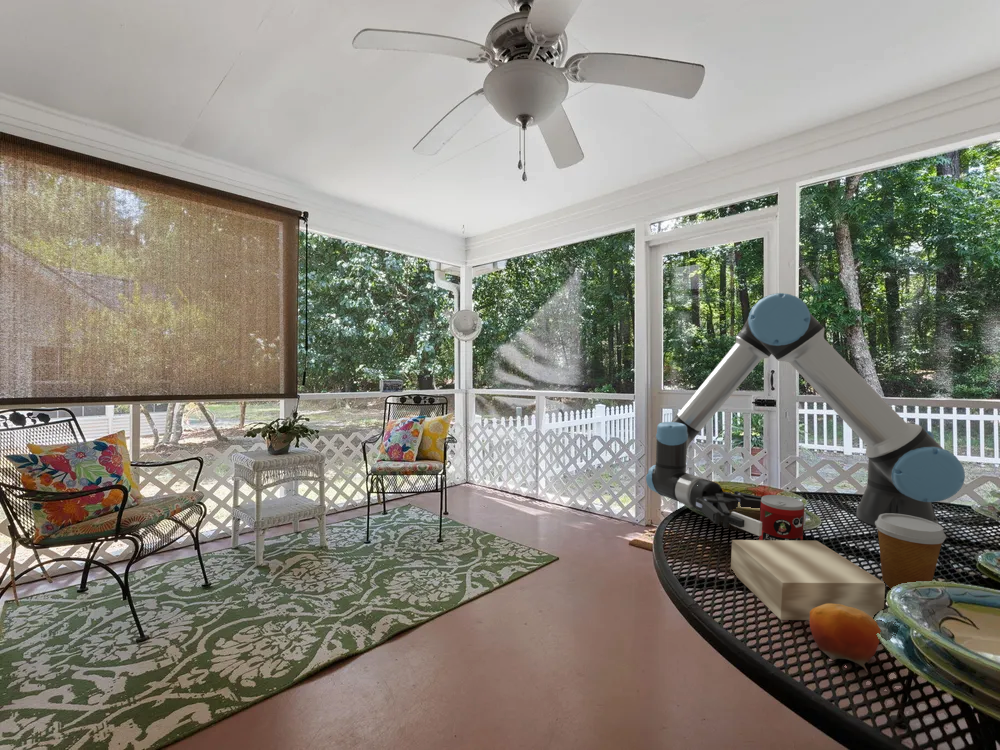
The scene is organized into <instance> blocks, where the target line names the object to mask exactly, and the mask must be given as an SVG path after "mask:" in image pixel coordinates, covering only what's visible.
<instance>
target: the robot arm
mask: <svg viewBox="0 0 1000 750" xmlns="http://www.w3.org/2000/svg"><path fill="white" fill-rule="evenodd" d="M825 330H826V329H825V327H824V326H823V325H822V324H821V323H820V322H819V321H818V320H817V319H816V318H815V317H814V316H813V315H812V313H811V312H810V309H809V307H808V305H807V304H806V303H805V302H804V301H803V300H802V299H800V297H798V296H795V295H792V294H791V293H790V294H789V293H781V292H776V293H772V294H769V295H766V296H764V297H762V298H761V299H759V300H758V301H757V302H756V303H754V305H753V306H752V307H751V309H750V311H749V313H748V317H747V319H746V321H745V323H744V325H743V327H742V328H741V330H740V331H739V332H738V333H737V334H736V335H735V343H734V344H733V345H732V346H731V348H730V349H729V351H728V352H727V353H726V354H725V355H724V357H723V358H722V359H721V360H720V361H719V363H718V364H717V365H716V366H715V368H714V369H713V370H712V371H711V372H710V373H709V375H708V376H707V377H706V379H704V381H703V383H701V385H700V386H699V387H698V389H696V391H695V392H694V393H693V395H691V397H690V398H689V399H688V401H687V402H686V403H685V404H684V405H683V406H682V408H681V409H680V411H678V413H677V414H676V415H675V416H674V418H672V420H671V421H664V422H660V423H658V424H657V425H656V426H657V427H656V434H655V438H656V443H655V444H656V445H655V448H656V452H655V453H656V456H655V464H654V465H652V466H650V467H649V468H648V472H647V474H646V476H645V480H646V485H647V487H648V488H649V489H650V490H651V491H652V492H655V493H657V494H658V495H660V496H662V497H665V498H668V499H671V500H674V501H676V502H679V503H681V504H683V505H686V506H687V507H688V508H694V509H695V510H696V511H700V512H701V513H703V514H704V515H705V516H706V517H707V518H708V519H709V520H710V521H711V522H712V523H713V524H715V525H721V523H722V526H723V528H730V526H733V527H735V528H738V529H740V530H743V531H746V532H747V533H750V534H752V535H755V536H757V537H759V536H762V522H760V520H759V519H758V520H757V519H755V518H752V517H750V516H747V515H744V514H742V513H738V512H736V511H734V510H733V509H736V507H740V506H741V507H751V508H761V498H762V497H763V496H761V495H760V496H759V495H755V494H751V493H750V494H749V493H745V492H740V491H737V490H736V491H734V493H732V492H728V491H724V490H723V488H722V486H721V485H720V484H719V483H718V482H715V481H712V480H709V479H706V478H703V477H700V476H698V475H693V474H692V473H691V474H690V473H687V472H686V471H687V455H688V454H687V453H688V448H689V445H690V444H691V443H692V442H693V440H694V439H695V438H696V437H697V436H698V435H699V433H700V432H701V431H702V429H703V428H704V427H705V426H706V425H707V424H708V423H709V421H710V420H711V419H712V418H713V416H714V415H716V413H717V412H718V411H719V410H720V409H721V407H722V406H723V405H724V404H725V403H726V402H727V401H728V400H729V398H730V397H731V396H732V394H733V393H735V391H736V390H737V389H738V388H739V386H740V385H741V384H742V383H744V381H745V379H746V378H747V377H748V376H749V375H750V374H751V372H752V371H753V370H754V369H755V367H757V366H758V364H759V363H760V362H761V361H762V360H764V359H769V358H770V357H771V355H772V356H773V357H774V358H775V360H777V361H779V362H786V363H789V364H790V365H791V366H792V367H793V368H794V369H795V370H796V371H797V372H798V373H799V374H800V376H802V377H803V379H804V380H805V381H806V382H807V383H808V384H809V385H810V386H811V387H812V389H813V390H814V391H816V392H817V394H818V395H819V396H820V397H821V399H823V400H824V401H825V402H826V403H827V404H828V406H829V407H830V408H831V409H832V410H833V411H834V412H835V413H836V414H837V415H838V417H840V418H841V419H842V421H843V422H845V423H846V425H847V426H848V427H849V428H850V429H851V430H852V431H853V432H854V434H855V435H857V437H859V438H860V440H862V442H863V443H864V444H865V445H866V449H865V456H866V457H867V458H868V465H867V466H868V467H867V469H868V470H867V483H866V487H865V488H866V489H865V491H864V492H863V495H862V497H861V499H860V501H859V503H858V505H857V507H856V518H857V519H859V520H860V521H861V522H864V523H865V524H868V525H870V526H874V527H876V525H875V521H876V520H877V519H878V517H879V515H880V514H885V513H894V514H904V515H910V516H915V517H919V518H923V519H926V520H929V521H932V522H935V523H937V524H939V520H938V518H937V516H936V513H935V509H934V505H933V503H937V502H942V501H945V500H948V499H950V498H952V497H954V495H956V494H957V493H958V492H959V491H960V490H961V489H962V487H963V485H964V482H965V479H966V474H965V468H964V466H963V463H961V461H960V460H959V459H958V458H957V456H956V455H955V454H953V453H952V452H950V451H949V450H947V449H944V448H943V447H942V446H941V445H940V444H939V443H938V442H937V441H936V440H935V437H934V436H935V435H934V433H933V432H932V431H929V430H925V429H924V428H923V427H922V426H921V425H920V424H917V423H916V424H915V423H911V422H906V421H905V419H903V418H902V417H901V416H900V415H899V414H898V413H897V412H896V410H895V409H893V408H892V407H891V406H890V405H889V403H887V401H885V400H884V399H883V398H882V396H881V395H880V394H879V393H878V392H877V391H876V390H875V389H874V388H873V387H872V386H871V385H870V384H869V383H868V382H867V381H866V379H864V378H863V377H862V376H861V375H860V374H859V373H858V372H857V371H856V370H855V369H854V368H853V366H851V365H850V364H849V363H848V362H847V361H846V359H845V358H844V357H843V356H842V355H841V354H840V353H839V352H838V351H837V350H836V349H835V348H834V347H833V346H832V345H831V344H830V343H829V342H828V341H827V340H826V339H825V336H824V335H825ZM697 485H698V486H697ZM738 502H740V504H738ZM730 511H731V512H730ZM806 519H807V512H806V511H804V524H803V526H806V523H807V522H806V521H807V520H806Z"/></svg>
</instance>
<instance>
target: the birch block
mask: <svg viewBox="0 0 1000 750" xmlns="http://www.w3.org/2000/svg"><path fill="white" fill-rule="evenodd" d="M730 552H731V553H730V555H731V556H730V557H731V558H730V570H731V569H732V570H733V571H734V573H735V575H736V576H737V579H738V580H739V581H740V582H741V583H742V584H743V585H745V587H747V588H748V590H750V592H752V594H753V595H754V596H755V597H756V598H757V599H759V600H760V601H761V602H762V603H763V605H765V606H766V607H767V608H768V609H769V610H770V611H771V612H772V613H773V614H774V615H775V616H776V617H777V618H778V619H779V620H780V621H789V620H790V621H810V611H811V610H812V609H813V608H815V607H818V606H820V605H823V604H828V603H829V604H830V603H832V604H841V605H844V606H847V607H853V608H856V609H858V610H861V611H864V612H865V613H866V614H868V615H869V616H871V617H872V618H873V617H874V615H875V614H876V613H877V612H878V611H880V610H882V609H884V610H885V608H884V607H885V595H886V586H885V583H884V582H883V581H882V580H881V579H880V578H878V577H876V576H874V575H873V574H871V573H869V572H868V571H867V570H865V569H863V568H861V566H859V565H857V564H855V563H854V562H852V561H850V560H849V559H847V558H846V557H844V556H842V555H841V554H839V553H837V552H836V551H834V550H833V549H831V548H829V547H828V546H826V545H825V544H823V543H821V542H820V541H818V540H759V539H756V540H755V539H731V551H730ZM735 575H734V576H735ZM736 576H735V577H736Z"/></svg>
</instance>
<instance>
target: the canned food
mask: <svg viewBox="0 0 1000 750" xmlns="http://www.w3.org/2000/svg"><path fill="white" fill-rule="evenodd" d="M761 497H762V498H761V508H760V511H759V513H760V514H759V521H760V522H762V536H758V540H803V539H804V537H803V536H804V525H803V524H804V512H805V503H804V502H803V501H801V500H799V499H797V498H794V497H791V496H787V495H781V494H766V495H762V496H761Z"/></svg>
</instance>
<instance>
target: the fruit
mask: <svg viewBox="0 0 1000 750" xmlns="http://www.w3.org/2000/svg"><path fill="white" fill-rule="evenodd" d="M809 628H810V632H811V635H812V637H813V640H814V642H815V644H816V646H817V647H818V650H820V651H821V652H822V653H824V654H825V655H827V657H828V658H830V660H831V662H834V661H836V660H839V659H840V660H848V661H851V662H853V663H854V664H857V665H859V666H861V667H862V668H863V669H864V670H865V672H866V673H867V674H868V669H867V667H866V665H865V664H867V663H868V662H870V660H871V658H873V657H874V656H875V655H876V653H877V650H878V647H879V644H880V642H881V640H880V641H879V639H878V637H877V635H876V634H877V633H879V634H880V632H881V633H882V630H881V628H880V626H879V625H878V623H877V621H875V620H874V619H873V618H872V617H871V616H869V615H868V614H866V613H865V612H864V611H861V610H858V609H856V608H853V607H847V606H844V605H841V604H832V603H830V604H829V603H828V604H823V605H820V606H818V607H815V608H813V609H812V610H811V611H810V620H809Z"/></svg>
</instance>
